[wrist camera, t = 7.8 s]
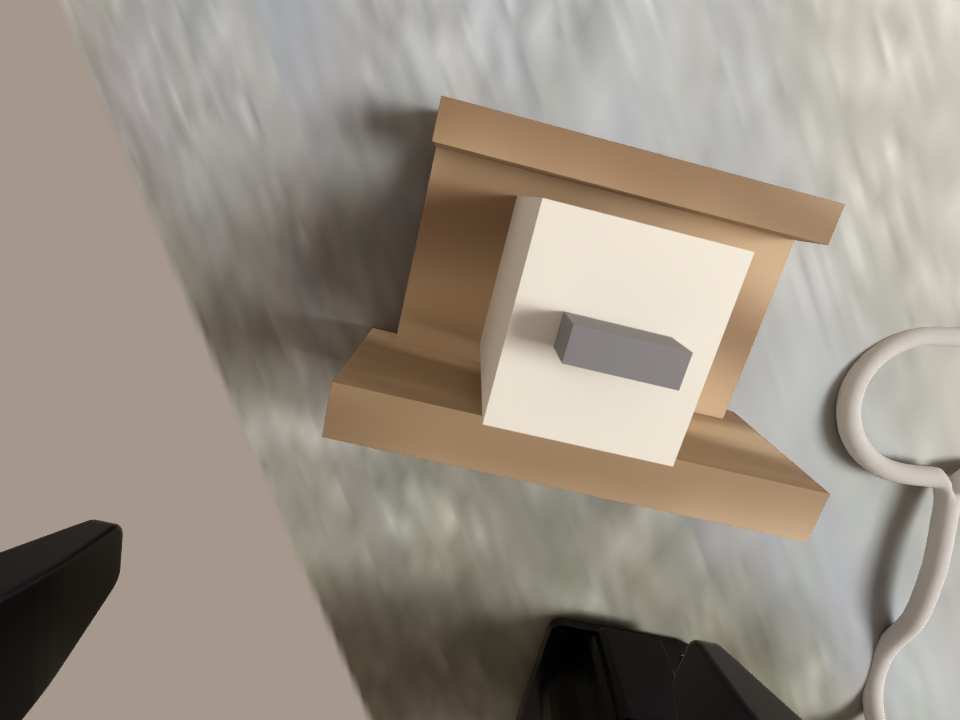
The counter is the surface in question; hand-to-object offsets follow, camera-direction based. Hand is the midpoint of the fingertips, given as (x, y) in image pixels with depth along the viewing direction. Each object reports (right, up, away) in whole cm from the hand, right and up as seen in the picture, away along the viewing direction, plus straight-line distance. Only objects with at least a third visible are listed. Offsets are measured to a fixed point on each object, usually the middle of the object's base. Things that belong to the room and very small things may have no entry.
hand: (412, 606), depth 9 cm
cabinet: (+4, +6, +10) cm, 12 cm away
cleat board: (+5, +6, +11) cm, 14 cm away
